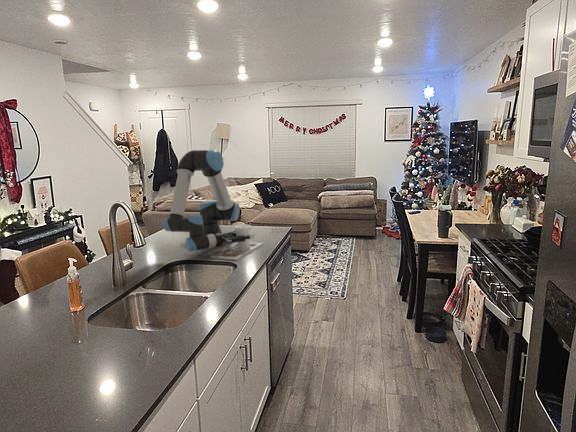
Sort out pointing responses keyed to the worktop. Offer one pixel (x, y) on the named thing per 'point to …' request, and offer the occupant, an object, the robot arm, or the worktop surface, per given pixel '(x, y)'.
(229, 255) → the flat grey tray
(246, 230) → the foam cup
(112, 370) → the worktop surface
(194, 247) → the robot arm
